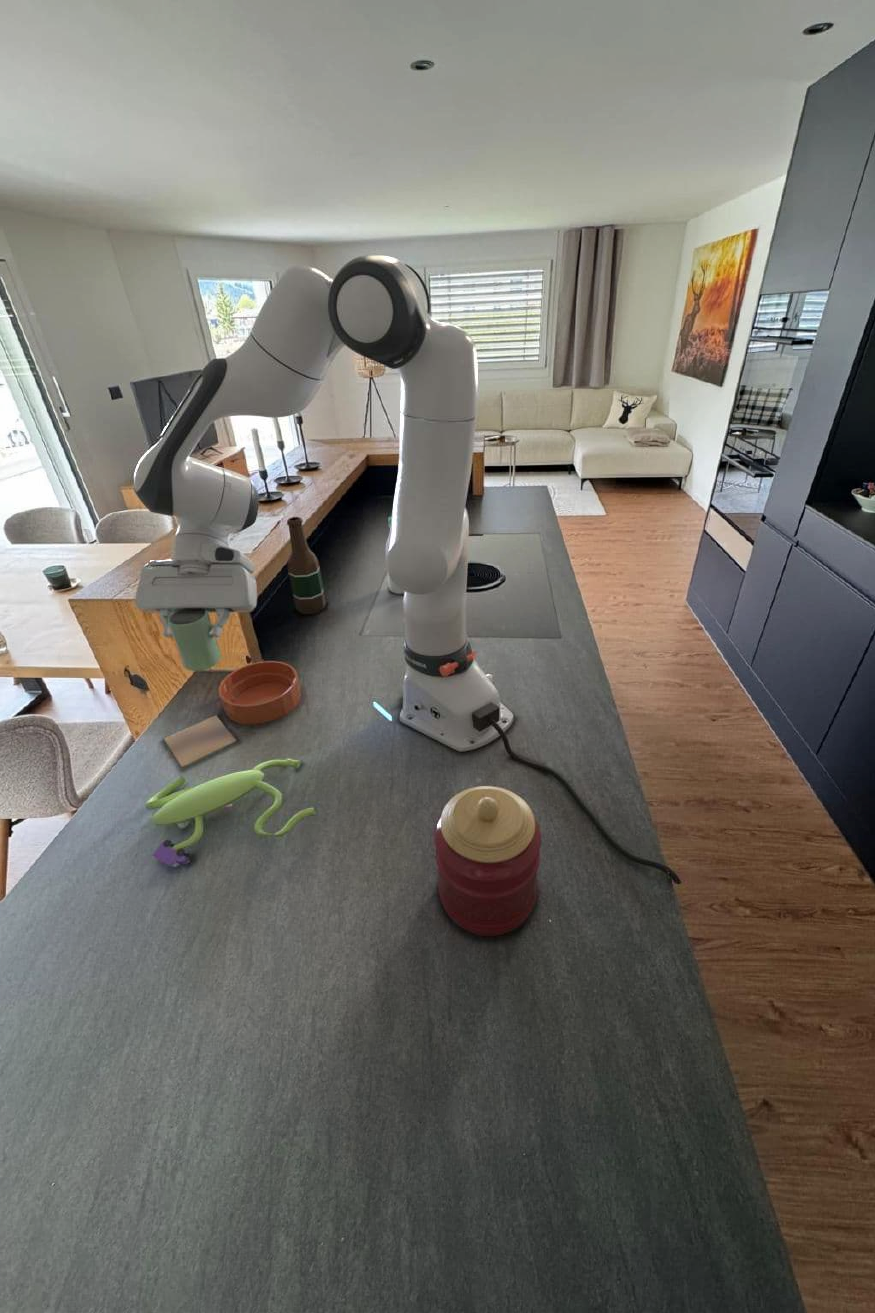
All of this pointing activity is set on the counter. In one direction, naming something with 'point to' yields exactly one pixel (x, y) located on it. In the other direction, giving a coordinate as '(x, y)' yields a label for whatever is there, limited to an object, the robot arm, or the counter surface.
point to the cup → (194, 639)
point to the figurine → (214, 806)
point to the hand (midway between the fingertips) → (192, 636)
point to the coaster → (199, 740)
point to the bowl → (260, 692)
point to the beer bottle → (304, 572)
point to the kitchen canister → (487, 860)
